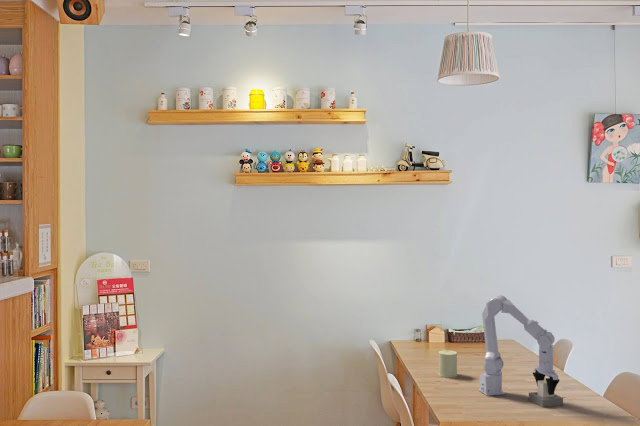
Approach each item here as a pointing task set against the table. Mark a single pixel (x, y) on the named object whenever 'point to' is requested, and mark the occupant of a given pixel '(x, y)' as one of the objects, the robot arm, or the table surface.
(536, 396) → the socket
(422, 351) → the table surface
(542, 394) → the plug
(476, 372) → the table surface
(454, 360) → the can
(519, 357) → the table surface
